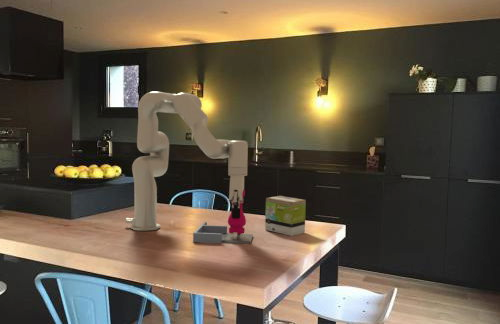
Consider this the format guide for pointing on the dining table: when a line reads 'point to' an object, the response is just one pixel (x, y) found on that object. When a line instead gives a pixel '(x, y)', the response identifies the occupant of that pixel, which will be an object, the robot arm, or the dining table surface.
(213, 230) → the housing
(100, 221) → the dining table surface
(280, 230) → the tea box
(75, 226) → the dining table surface
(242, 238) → the base plate
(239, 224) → the pepper mill
